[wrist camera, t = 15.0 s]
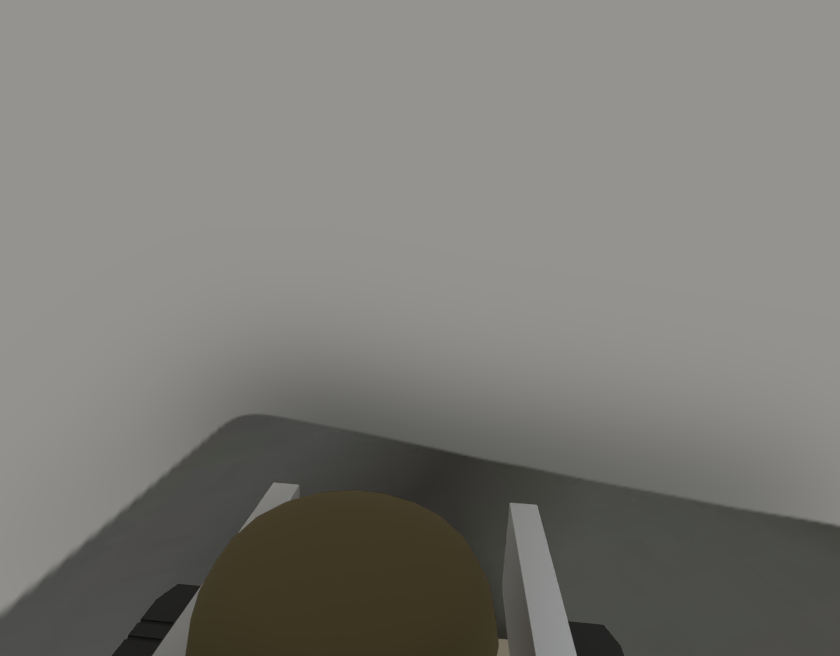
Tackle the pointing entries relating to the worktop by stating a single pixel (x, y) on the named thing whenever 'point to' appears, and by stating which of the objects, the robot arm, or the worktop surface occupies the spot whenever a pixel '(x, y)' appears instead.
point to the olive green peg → (345, 584)
